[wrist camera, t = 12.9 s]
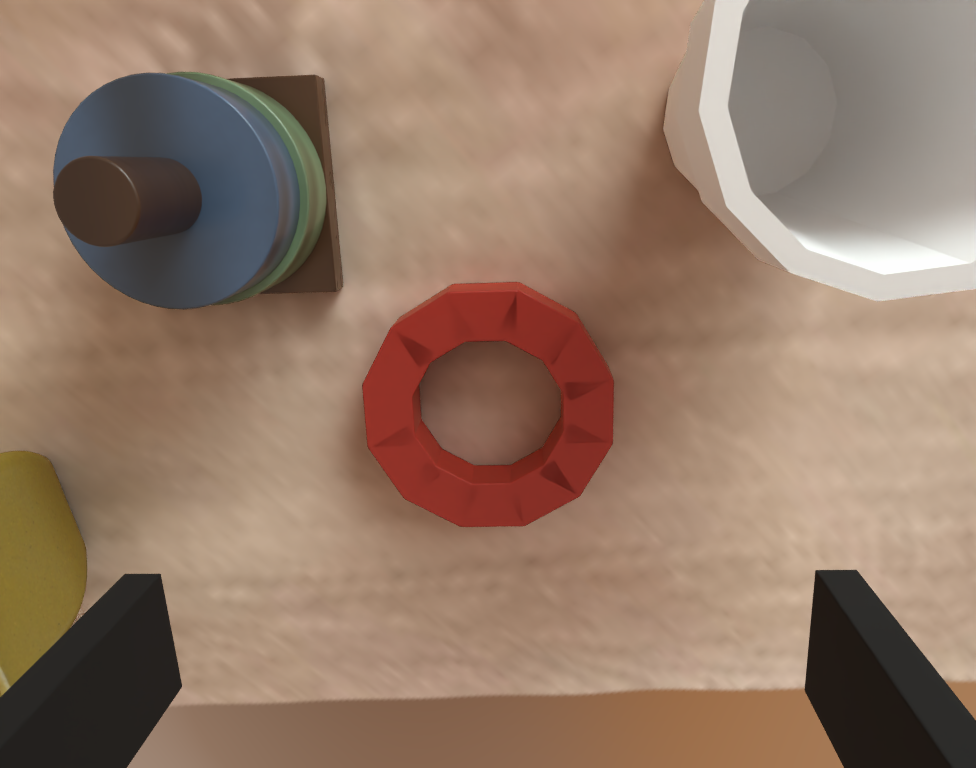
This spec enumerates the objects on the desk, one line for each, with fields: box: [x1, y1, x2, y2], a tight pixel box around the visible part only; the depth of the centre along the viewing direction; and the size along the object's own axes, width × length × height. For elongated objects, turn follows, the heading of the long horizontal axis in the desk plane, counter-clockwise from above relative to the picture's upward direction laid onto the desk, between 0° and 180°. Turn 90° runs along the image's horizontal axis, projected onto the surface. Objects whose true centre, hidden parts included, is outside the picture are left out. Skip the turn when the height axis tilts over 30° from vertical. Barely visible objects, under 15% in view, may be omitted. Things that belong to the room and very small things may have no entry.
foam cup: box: [663, 0, 976, 301], centre depth 21 cm, size 10×9×13 cm
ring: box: [362, 282, 614, 527], centre depth 30 cm, size 10×10×2 cm
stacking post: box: [53, 72, 343, 309], centre depth 25 cm, size 8×8×10 cm
